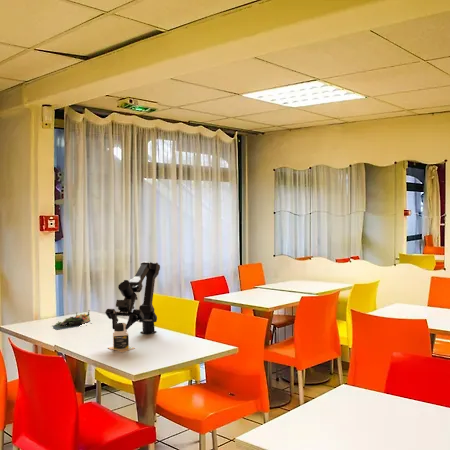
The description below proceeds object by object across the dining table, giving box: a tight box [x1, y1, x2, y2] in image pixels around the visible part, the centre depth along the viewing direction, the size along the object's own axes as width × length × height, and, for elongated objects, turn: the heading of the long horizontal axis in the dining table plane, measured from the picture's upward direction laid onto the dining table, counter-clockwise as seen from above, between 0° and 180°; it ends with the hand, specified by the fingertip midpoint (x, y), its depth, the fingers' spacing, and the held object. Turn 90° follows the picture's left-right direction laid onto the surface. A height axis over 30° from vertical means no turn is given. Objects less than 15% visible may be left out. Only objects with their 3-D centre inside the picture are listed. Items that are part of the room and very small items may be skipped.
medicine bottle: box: [112, 322, 130, 351], centre depth 254 cm, size 7×7×12 cm
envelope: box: [107, 346, 136, 353], centre depth 255 cm, size 11×8×1 cm
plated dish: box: [51, 311, 91, 331], centre depth 316 cm, size 35×28×7 cm
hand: (119, 329), depth 253 cm, fingers open, 7 cm apart
